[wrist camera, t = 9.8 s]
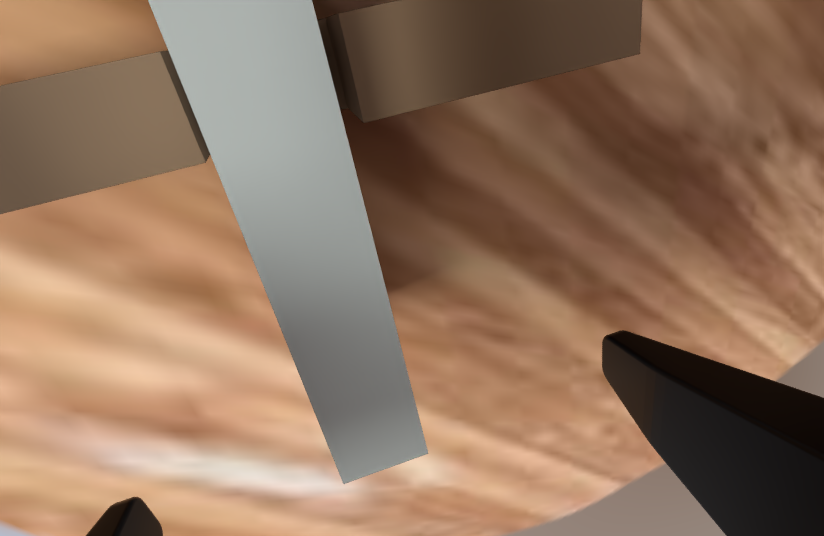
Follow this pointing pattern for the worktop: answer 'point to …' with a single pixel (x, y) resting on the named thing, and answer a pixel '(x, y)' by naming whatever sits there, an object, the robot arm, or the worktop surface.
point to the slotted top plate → (300, 213)
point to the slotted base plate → (350, 69)
